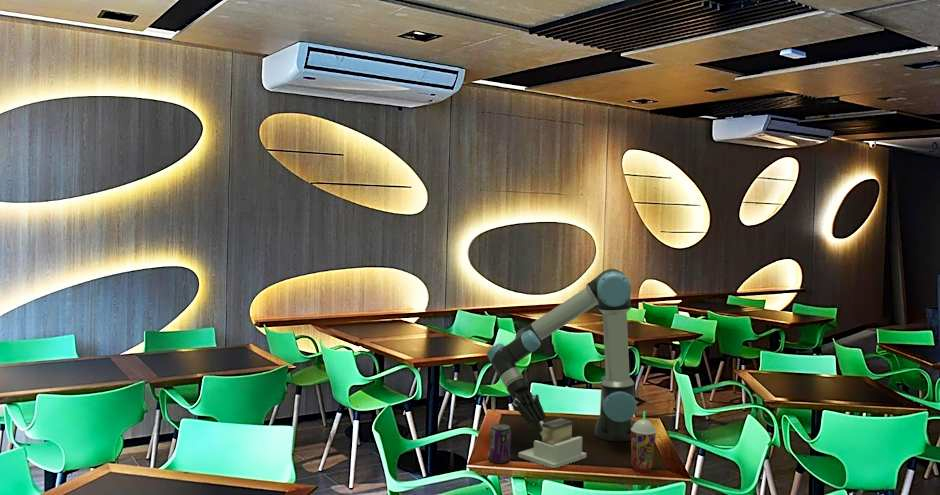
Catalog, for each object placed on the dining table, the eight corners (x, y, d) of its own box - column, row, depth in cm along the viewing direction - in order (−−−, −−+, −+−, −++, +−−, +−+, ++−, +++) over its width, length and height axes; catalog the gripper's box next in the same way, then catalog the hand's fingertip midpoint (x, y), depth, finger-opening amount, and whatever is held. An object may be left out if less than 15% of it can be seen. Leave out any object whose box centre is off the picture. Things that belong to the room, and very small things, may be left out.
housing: (518, 456, 278) (519, 435, 277) (551, 445, 290) (551, 425, 290) (553, 469, 266) (554, 447, 266) (586, 457, 279) (587, 436, 278)
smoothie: (649, 475, 263) (652, 416, 261) (625, 470, 267) (628, 412, 266) (657, 468, 270) (660, 410, 268) (634, 463, 274) (636, 406, 273)
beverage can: (508, 465, 269) (509, 430, 268) (487, 463, 271) (488, 428, 270) (511, 458, 276) (512, 424, 275) (491, 456, 278) (492, 422, 277)
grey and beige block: (541, 454, 275) (542, 423, 274) (559, 448, 282) (560, 418, 282) (552, 458, 272) (554, 427, 271) (571, 452, 279) (572, 421, 278)
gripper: (520, 385, 296) (554, 440, 286) (497, 391, 287) (530, 448, 277) (532, 374, 292) (566, 429, 282) (508, 379, 283) (542, 437, 273)
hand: (548, 438), depth 279 cm, fingers closed
